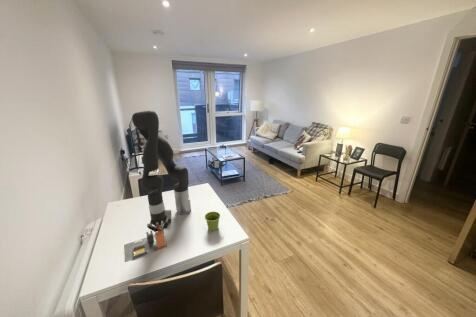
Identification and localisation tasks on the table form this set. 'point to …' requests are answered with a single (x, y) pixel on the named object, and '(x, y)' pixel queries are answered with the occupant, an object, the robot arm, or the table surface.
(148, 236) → the breaker slider
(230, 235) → the table surface
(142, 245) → the panel
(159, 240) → the cap
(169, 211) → the electrical switch
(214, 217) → the plant pot
